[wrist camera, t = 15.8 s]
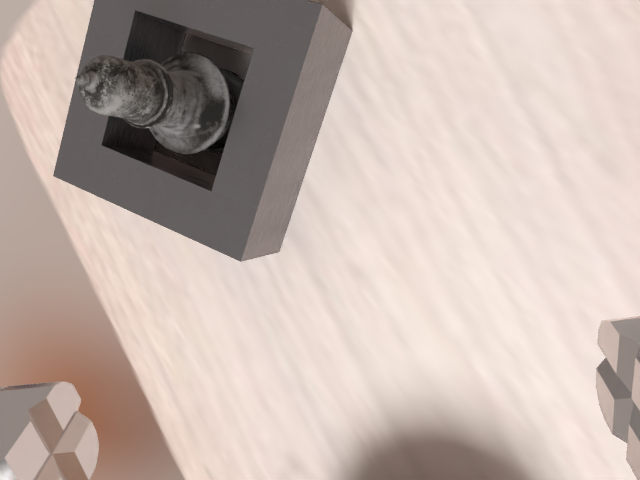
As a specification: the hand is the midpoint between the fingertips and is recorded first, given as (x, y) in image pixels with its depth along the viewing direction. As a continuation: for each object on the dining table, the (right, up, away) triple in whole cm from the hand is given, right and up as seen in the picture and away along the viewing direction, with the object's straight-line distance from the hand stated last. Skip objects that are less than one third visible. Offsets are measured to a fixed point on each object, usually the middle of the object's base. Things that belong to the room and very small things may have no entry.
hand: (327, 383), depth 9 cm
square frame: (-7, +10, +27) cm, 30 cm away
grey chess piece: (-7, +11, +28) cm, 30 cm away
